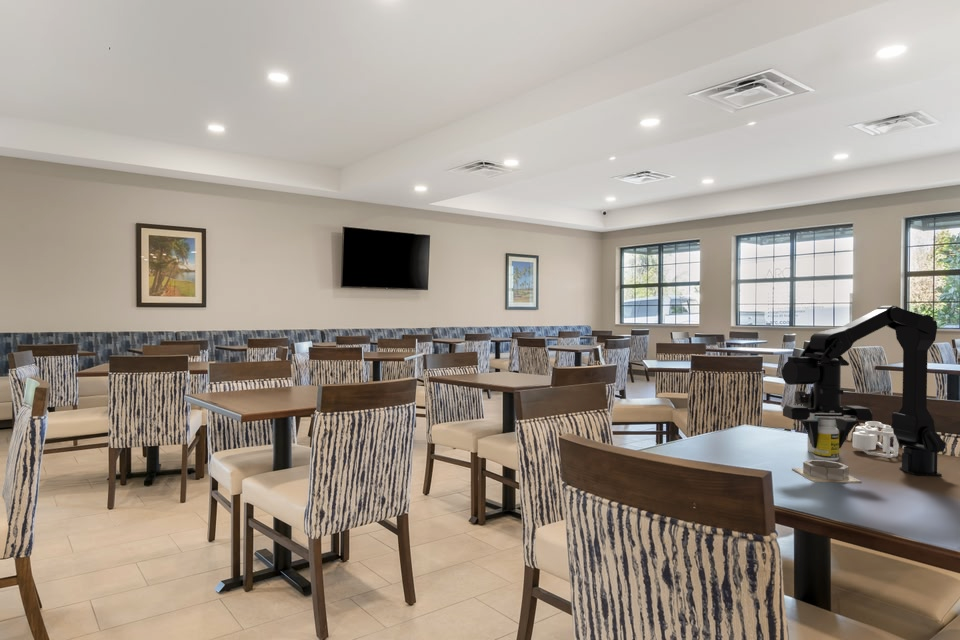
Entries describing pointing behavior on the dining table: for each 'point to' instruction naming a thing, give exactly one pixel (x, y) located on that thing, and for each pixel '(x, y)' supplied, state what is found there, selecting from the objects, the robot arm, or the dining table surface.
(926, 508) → the dining table surface
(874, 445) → the skeletal toy car
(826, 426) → the supplement bottle
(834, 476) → the octagonal ring stand
